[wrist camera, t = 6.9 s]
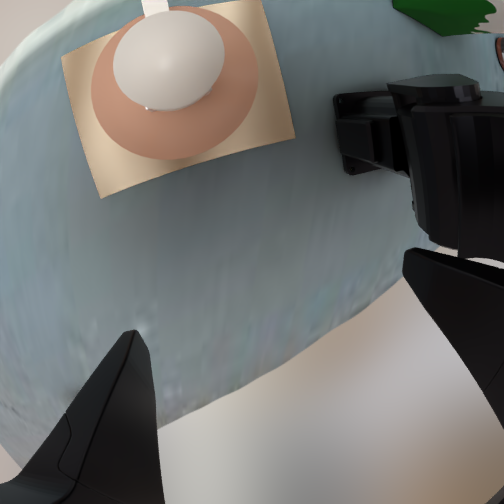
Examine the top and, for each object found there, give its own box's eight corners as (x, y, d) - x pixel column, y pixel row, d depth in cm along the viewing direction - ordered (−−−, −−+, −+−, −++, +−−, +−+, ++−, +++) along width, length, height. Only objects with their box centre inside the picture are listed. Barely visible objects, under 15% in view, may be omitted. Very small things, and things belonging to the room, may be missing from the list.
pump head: (191, -7, 10) (196, -51, 5) (219, 101, 13) (236, 91, 9) (118, 14, 9) (96, -22, 5) (145, 124, 13) (127, 124, 8)
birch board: (258, 1, 14) (260, -2, 13) (292, 137, 19) (295, 138, 18) (64, 58, 12) (61, 57, 12) (103, 196, 17) (100, 198, 17)
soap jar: (228, 13, 13) (247, -25, 8) (258, 131, 18) (289, 137, 12) (95, 52, 12) (62, 29, 7) (128, 172, 17) (105, 194, 12)
